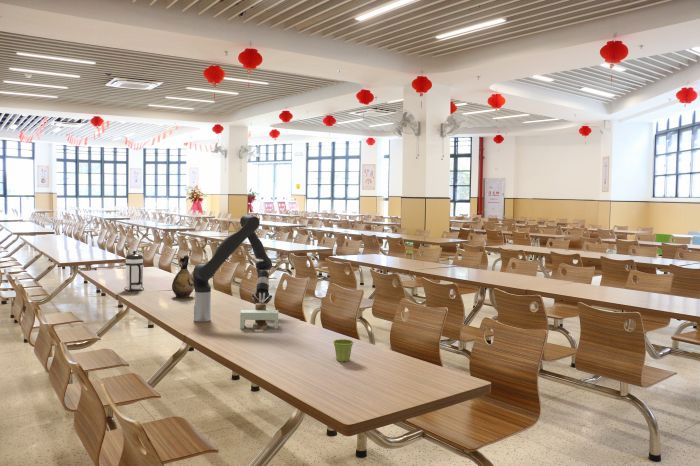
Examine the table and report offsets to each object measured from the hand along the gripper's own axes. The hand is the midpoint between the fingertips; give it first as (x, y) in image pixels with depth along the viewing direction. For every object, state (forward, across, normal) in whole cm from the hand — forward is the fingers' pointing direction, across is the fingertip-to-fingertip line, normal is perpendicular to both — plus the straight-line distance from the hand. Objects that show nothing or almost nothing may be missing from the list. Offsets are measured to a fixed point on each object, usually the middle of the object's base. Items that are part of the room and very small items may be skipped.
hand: (261, 309), depth 346 cm
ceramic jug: (-46, -59, +55) cm, 93 cm away
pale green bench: (+20, 0, -11) cm, 23 cm away
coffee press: (-64, -99, +73) cm, 139 cm away
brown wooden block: (+19, 0, -11) cm, 22 cm away
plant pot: (+66, +42, -58) cm, 97 cm away
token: (+26, 0, -18) cm, 32 cm away
